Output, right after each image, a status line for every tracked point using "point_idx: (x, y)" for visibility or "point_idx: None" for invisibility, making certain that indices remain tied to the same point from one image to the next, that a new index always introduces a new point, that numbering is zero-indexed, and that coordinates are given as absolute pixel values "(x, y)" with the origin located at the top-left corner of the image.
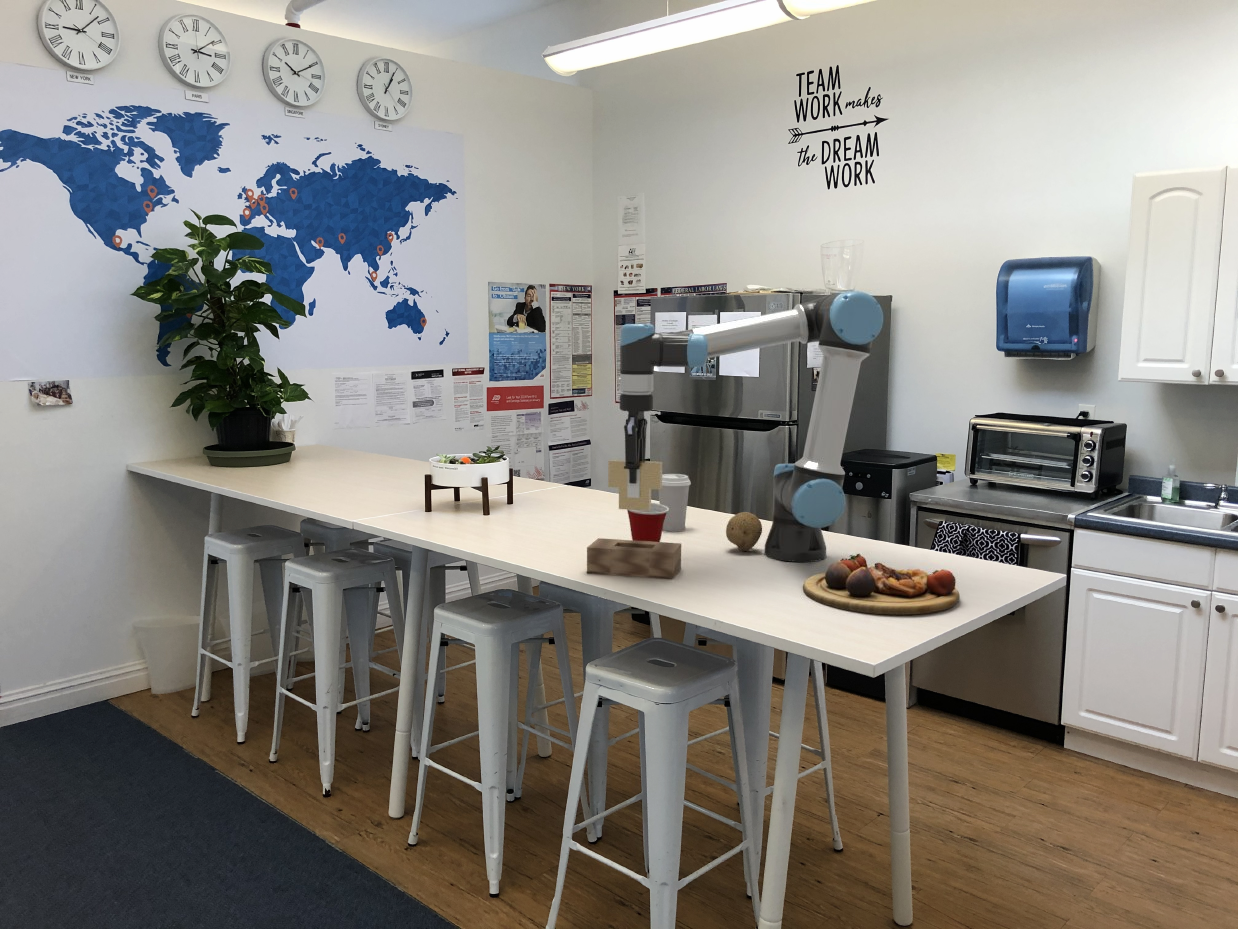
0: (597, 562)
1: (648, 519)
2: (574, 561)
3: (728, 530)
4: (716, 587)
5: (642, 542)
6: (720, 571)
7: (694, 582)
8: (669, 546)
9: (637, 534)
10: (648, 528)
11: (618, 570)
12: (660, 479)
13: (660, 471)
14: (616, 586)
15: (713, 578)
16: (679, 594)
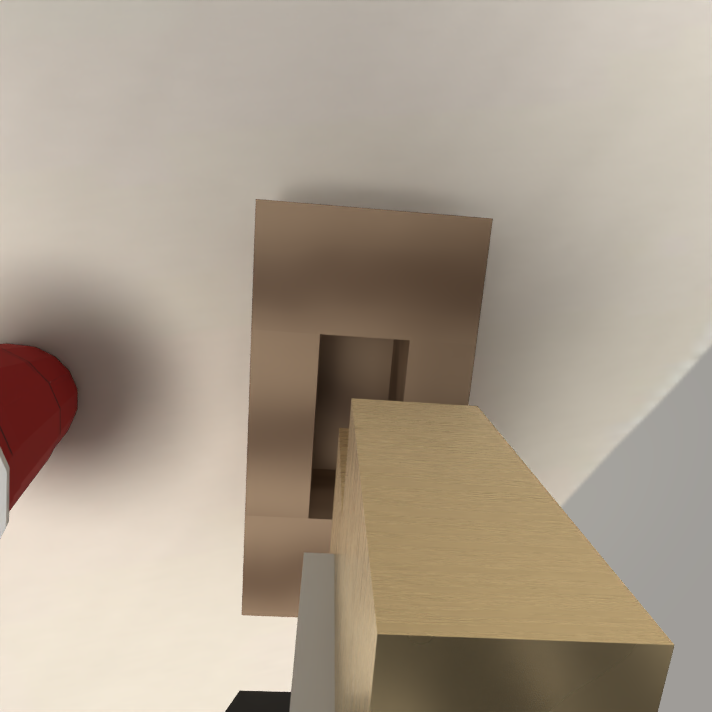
0: None
1: (4, 438)
2: (256, 628)
3: None
4: (563, 13)
5: (283, 406)
6: (279, 8)
7: (494, 122)
8: (346, 256)
9: (42, 462)
10: (26, 418)
11: None
12: (476, 451)
13: (530, 516)
14: (588, 420)
15: (414, 37)
16: (681, 170)
